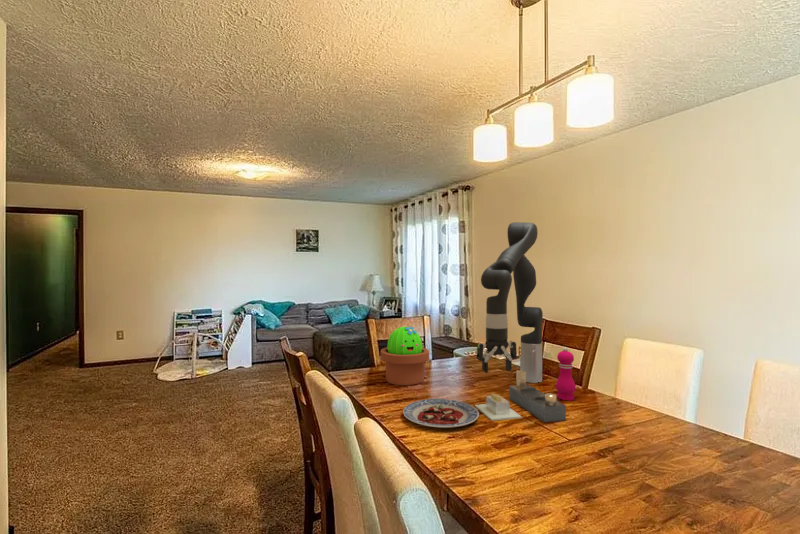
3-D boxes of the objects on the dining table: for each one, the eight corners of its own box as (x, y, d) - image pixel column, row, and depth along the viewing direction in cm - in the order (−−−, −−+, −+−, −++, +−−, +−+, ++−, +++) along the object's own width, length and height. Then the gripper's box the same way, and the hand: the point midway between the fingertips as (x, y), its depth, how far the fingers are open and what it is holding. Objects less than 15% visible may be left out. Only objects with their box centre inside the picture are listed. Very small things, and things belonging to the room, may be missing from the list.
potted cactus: (375, 375, 187) (375, 323, 187) (419, 372, 194) (419, 321, 194) (388, 389, 166) (388, 330, 166) (436, 384, 173) (436, 327, 173)
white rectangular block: (486, 407, 143) (486, 393, 143) (498, 405, 144) (498, 392, 144) (496, 415, 135) (496, 401, 136) (509, 413, 137) (509, 399, 137)
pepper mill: (572, 395, 158) (572, 345, 158) (578, 401, 151) (578, 349, 151) (553, 394, 159) (553, 345, 159) (558, 400, 152) (558, 348, 152)
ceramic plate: (478, 436, 120) (478, 426, 120) (396, 429, 125) (396, 420, 125) (478, 407, 146) (478, 399, 146) (410, 402, 151) (410, 394, 151)
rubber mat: (474, 406, 146) (474, 404, 146) (502, 404, 148) (502, 402, 148) (491, 420, 132) (491, 419, 132) (521, 418, 134) (521, 416, 134)
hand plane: (509, 398, 154) (509, 370, 154) (527, 397, 156) (527, 369, 156) (544, 422, 131) (544, 389, 131) (565, 420, 132) (565, 387, 132)
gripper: (509, 323, 145) (510, 367, 145) (473, 325, 142) (473, 370, 142) (520, 326, 138) (520, 373, 138) (482, 328, 135) (482, 375, 135)
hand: (496, 371), depth 140 cm, fingers open, 8 cm apart
